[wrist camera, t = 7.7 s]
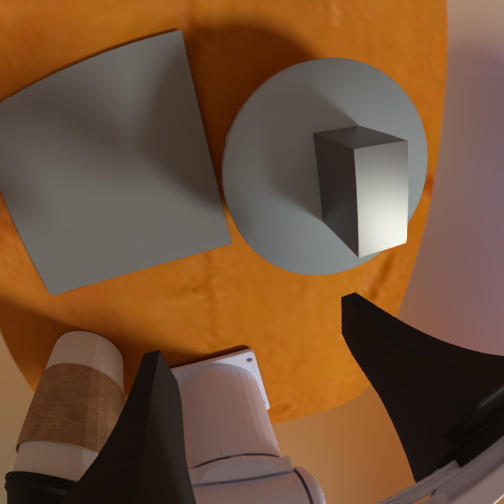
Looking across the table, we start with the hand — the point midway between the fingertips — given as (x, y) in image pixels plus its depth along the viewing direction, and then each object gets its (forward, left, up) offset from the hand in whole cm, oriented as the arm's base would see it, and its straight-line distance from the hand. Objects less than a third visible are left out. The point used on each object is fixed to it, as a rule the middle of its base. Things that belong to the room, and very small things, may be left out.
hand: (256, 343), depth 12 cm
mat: (+6, +6, -9) cm, 13 cm away
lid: (+4, -6, -5) cm, 9 cm away
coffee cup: (-7, +13, -10) cm, 18 cm away
